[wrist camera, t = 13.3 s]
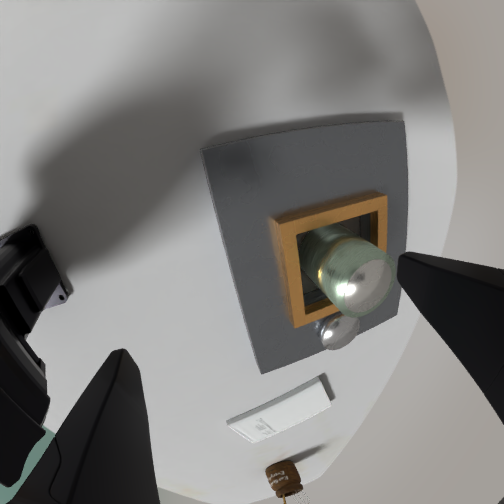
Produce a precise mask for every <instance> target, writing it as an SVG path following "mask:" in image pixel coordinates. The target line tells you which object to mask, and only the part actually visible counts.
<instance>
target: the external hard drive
mask: <svg viewBox="0 0 504 504" xmlns="http://www.w3.org/2000/svg"><path fill="white" fill-rule="evenodd" d="M331 406H332V404H331V402H330V400H329V397H328V395H327V393H326V391H325V389H324V387H323V385H322V383H321V381H320V379H319V378H318V376H317V377H315V378H314V379H312V380H310V381H308V382H306V383H305V384H303V385H301V386H299V387H297V388H295V389H294V390H292V391H290V392H288V393H286V394H284V395H282V396H280V397H278V398H276V399H274V400H272V401H270V402H268V403H265V404H263V405H261V406H259V407H257V408H255V409H252V410H250V411H248V412H246V413H243V414H241V415H239V416H236V417H234V418H232V419H229V420H227V421H226V422H227V425H228V427H229V428H231V429H232V430H233V431H235V432H237V433H238V434H240V435H241V436H242V437H244V438H245V439H247V440H249V441H250V442H252V443H256V442H258V441H261V440H263V439H266V438H268V437H270V436H273V435H275V434H277V433H279V432H282V431H284V430H286V429H288V428H290V427H292V426H294V425H297V424H299V423H301V422H303V421H305V420H307V419H309V418H310V417H312V416H314V415H316V414H318V413H320V412H322V411H323V410H325V409H327V408H329V407H331Z"/></svg>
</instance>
